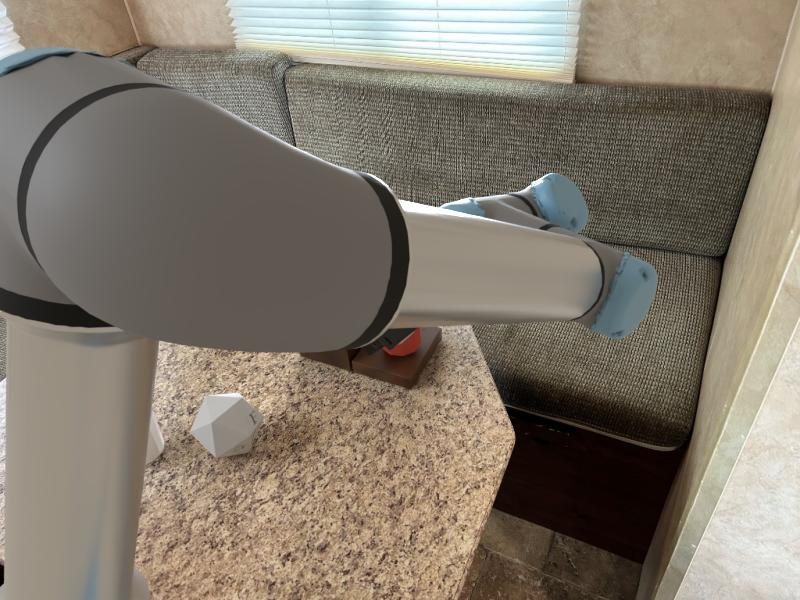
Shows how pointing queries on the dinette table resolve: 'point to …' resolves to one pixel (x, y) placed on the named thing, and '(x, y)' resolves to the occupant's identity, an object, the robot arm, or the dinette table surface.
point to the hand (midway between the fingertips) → (383, 320)
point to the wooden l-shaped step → (385, 360)
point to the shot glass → (154, 440)
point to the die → (226, 424)
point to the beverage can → (406, 344)
